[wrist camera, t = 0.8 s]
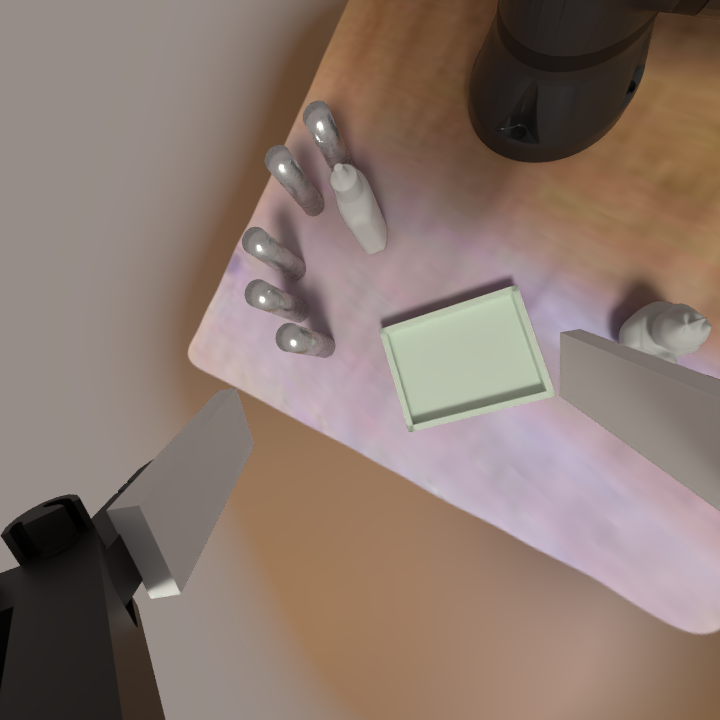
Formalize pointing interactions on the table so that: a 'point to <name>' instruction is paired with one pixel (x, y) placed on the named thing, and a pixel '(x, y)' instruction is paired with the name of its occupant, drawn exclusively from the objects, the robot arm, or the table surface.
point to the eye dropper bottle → (359, 207)
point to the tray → (466, 360)
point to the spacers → (279, 256)
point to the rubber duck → (665, 330)
